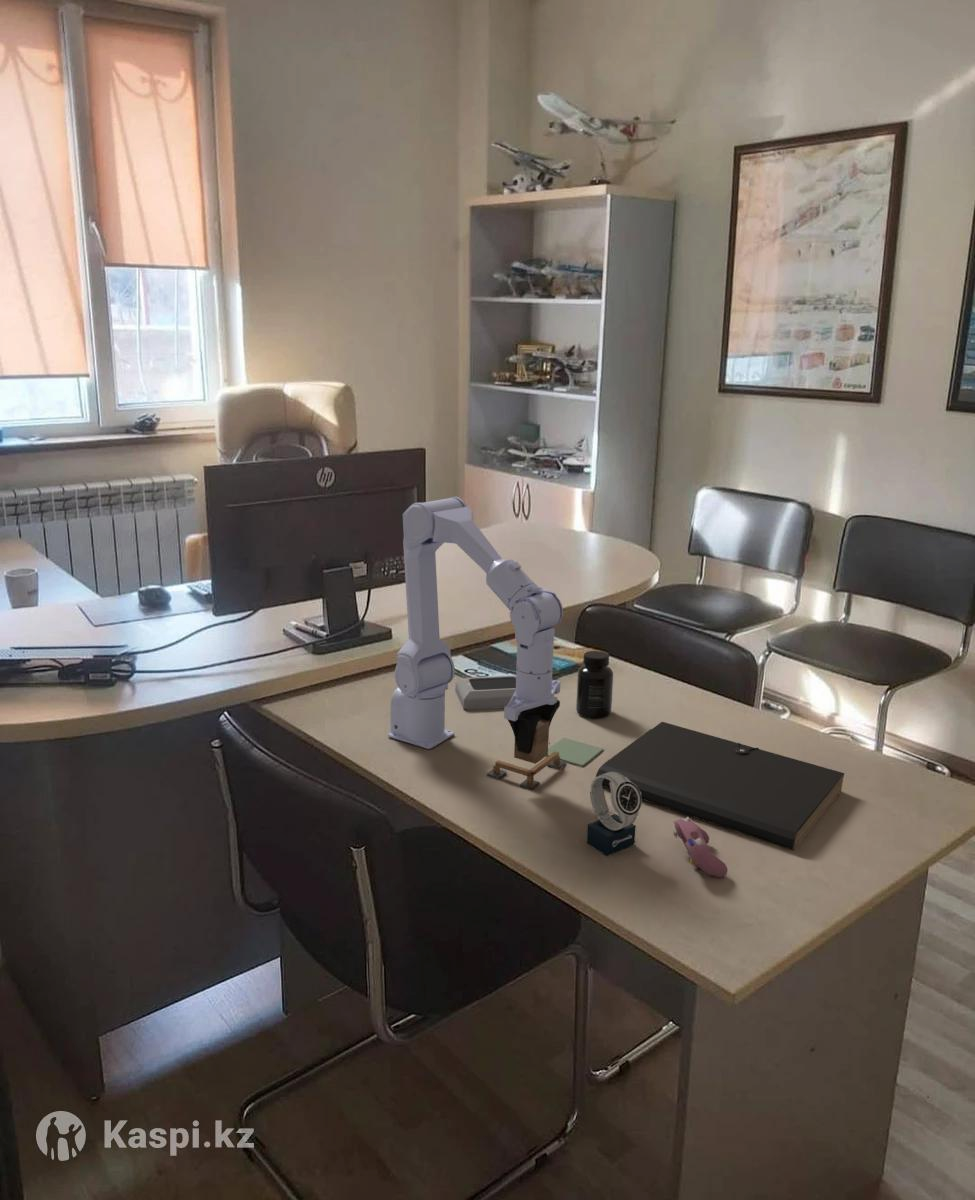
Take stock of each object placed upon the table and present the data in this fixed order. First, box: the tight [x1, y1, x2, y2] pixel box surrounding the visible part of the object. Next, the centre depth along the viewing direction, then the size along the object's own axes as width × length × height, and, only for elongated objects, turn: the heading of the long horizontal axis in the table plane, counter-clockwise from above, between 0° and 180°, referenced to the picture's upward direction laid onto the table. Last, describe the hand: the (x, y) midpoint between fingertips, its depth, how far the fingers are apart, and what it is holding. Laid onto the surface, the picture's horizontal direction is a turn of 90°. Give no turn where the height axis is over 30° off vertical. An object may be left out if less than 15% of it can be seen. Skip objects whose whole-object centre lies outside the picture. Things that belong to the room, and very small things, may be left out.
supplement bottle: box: [575, 650, 614, 720], centre depth 188 cm, size 7×7×12 cm
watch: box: [586, 772, 643, 857], centre depth 142 cm, size 6×8×11 cm
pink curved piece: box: [672, 816, 728, 878], centre depth 139 cm, size 10×5×7 cm, turn 5°
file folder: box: [595, 721, 846, 851], centre depth 161 cm, size 33×4×24 cm
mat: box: [546, 737, 604, 768], centre depth 173 cm, size 8×8×1 cm
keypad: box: [454, 674, 516, 710], centre depth 195 cm, size 10×4×15 cm
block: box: [513, 719, 550, 765], centre depth 158 cm, size 4×4×6 cm
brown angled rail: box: [486, 751, 567, 791], centre depth 166 cm, size 9×11×2 cm
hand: (531, 746), depth 159 cm, fingers closed on block, 4 cm apart
